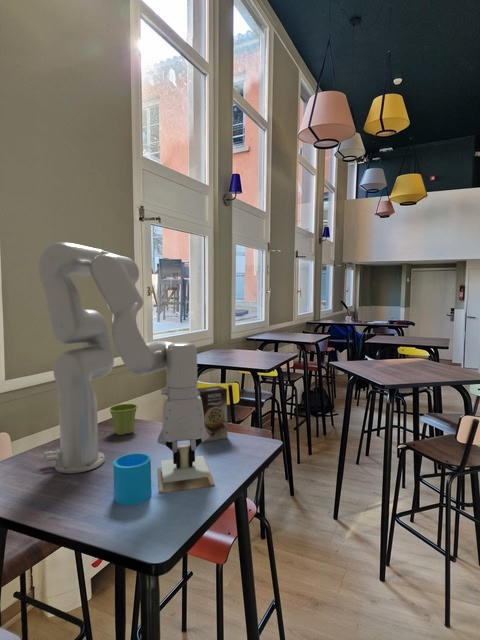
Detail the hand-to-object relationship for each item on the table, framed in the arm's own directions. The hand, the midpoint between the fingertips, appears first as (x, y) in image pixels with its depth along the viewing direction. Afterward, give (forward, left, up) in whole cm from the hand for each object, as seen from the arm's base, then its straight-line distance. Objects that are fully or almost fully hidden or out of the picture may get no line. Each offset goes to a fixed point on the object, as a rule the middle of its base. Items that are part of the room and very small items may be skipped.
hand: (184, 464), depth 94 cm
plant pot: (-17, +40, -3) cm, 44 cm away
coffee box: (+11, +26, -3) cm, 28 cm away
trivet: (0, 0, -3) cm, 3 cm away
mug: (-13, -4, -3) cm, 14 cm away
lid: (0, 0, -1) cm, 1 cm away
